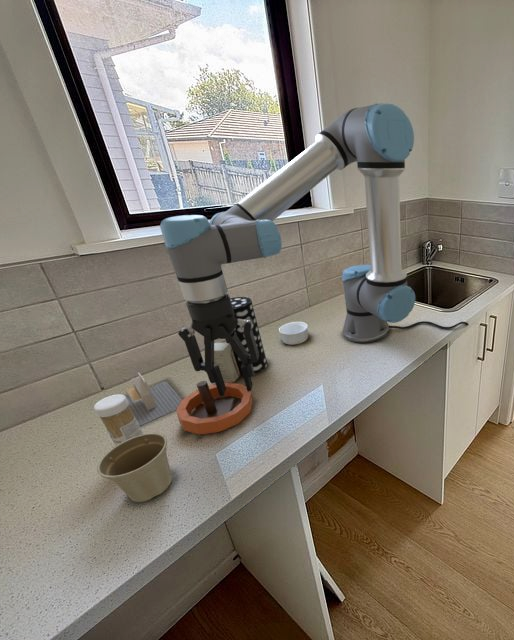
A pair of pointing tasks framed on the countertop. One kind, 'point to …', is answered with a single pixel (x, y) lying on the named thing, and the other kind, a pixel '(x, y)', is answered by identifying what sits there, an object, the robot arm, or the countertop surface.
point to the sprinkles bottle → (118, 418)
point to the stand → (211, 403)
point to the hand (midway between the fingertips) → (236, 389)
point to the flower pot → (138, 466)
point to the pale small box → (226, 361)
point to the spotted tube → (245, 311)
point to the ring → (220, 421)
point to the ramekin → (294, 332)
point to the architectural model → (151, 400)
